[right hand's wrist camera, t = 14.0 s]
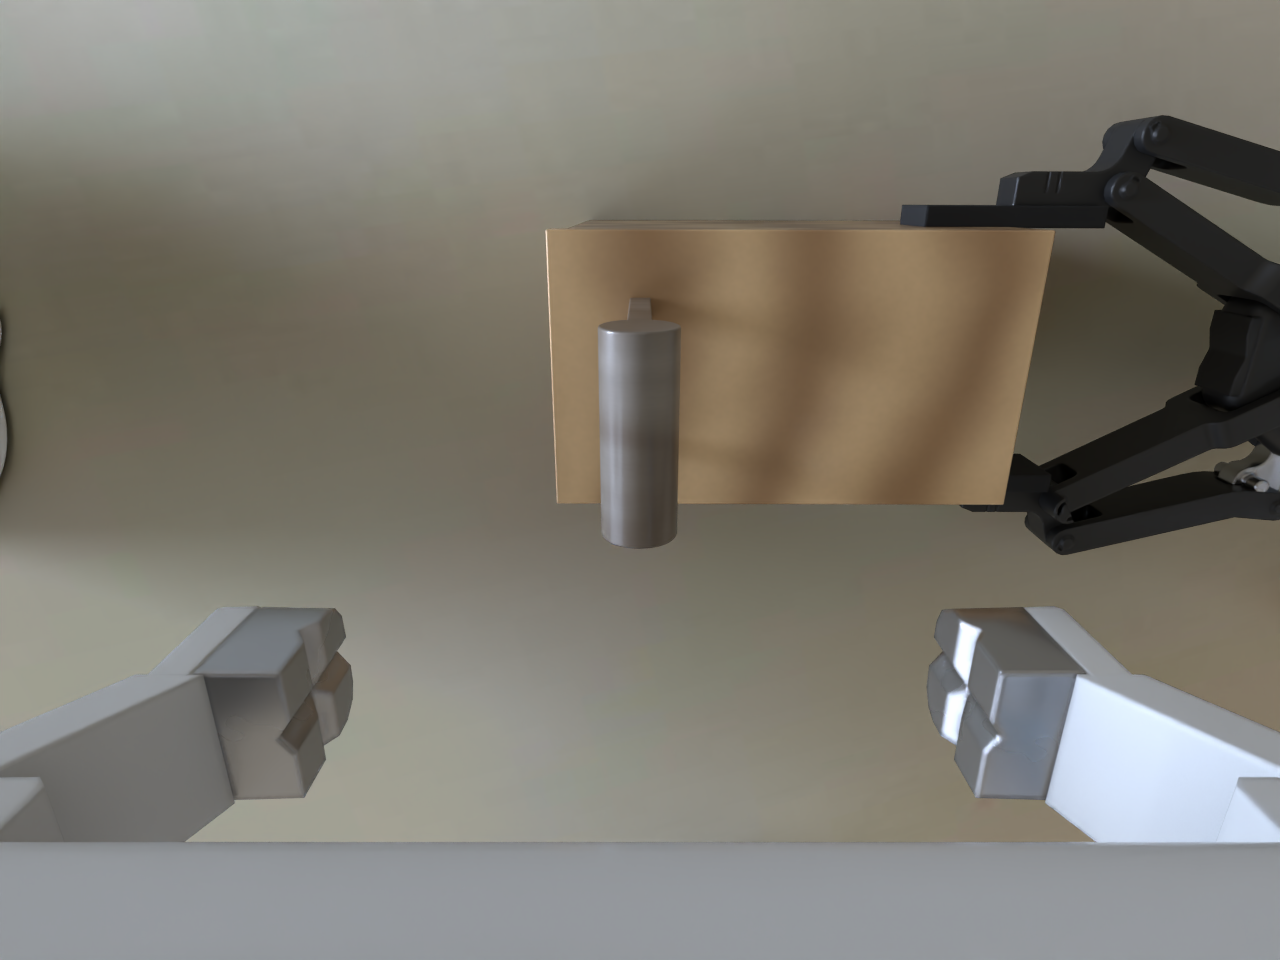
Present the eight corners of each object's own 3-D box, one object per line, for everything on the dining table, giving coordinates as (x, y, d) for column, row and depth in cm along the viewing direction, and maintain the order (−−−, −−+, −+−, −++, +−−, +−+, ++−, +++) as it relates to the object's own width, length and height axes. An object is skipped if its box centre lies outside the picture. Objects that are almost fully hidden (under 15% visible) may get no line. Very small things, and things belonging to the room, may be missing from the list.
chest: (591, 417, 38) (574, 494, 28) (587, 220, 35) (565, 228, 25) (900, 417, 38) (992, 495, 28) (926, 220, 35) (1042, 229, 25)
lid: (559, 495, 28) (525, 615, 20) (548, 228, 25) (502, 242, 17) (993, 496, 28) (1137, 617, 20) (1042, 229, 25) (1240, 243, 16)
